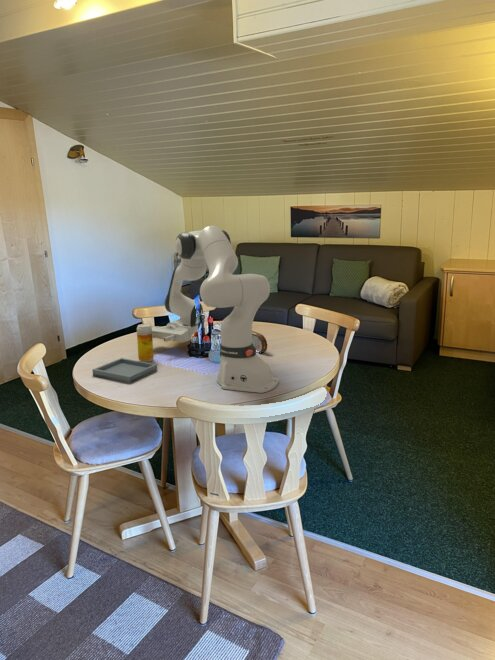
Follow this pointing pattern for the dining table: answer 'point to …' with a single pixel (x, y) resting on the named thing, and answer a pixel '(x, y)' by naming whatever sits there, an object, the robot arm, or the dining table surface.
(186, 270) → the robot arm
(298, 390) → the dining table surface
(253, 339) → the tin
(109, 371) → the tray
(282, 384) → the dining table surface
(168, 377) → the dining table surface
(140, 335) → the beer can
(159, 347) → the dining table surface
